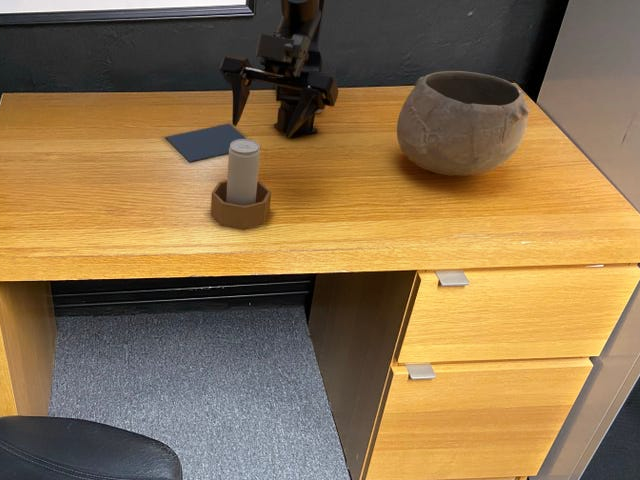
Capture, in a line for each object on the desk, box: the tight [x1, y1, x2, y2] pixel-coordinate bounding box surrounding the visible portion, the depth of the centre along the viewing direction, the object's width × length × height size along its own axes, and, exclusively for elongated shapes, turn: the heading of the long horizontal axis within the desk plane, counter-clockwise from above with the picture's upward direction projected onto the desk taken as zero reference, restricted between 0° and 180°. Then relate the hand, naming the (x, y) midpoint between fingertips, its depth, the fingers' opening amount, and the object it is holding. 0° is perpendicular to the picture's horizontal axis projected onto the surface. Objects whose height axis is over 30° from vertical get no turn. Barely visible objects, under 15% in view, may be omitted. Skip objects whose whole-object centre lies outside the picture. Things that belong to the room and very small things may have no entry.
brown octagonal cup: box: [210, 179, 272, 230], centre depth 113 cm, size 9×9×4 cm
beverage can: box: [226, 138, 261, 206], centre depth 111 cm, size 5×5×12 cm
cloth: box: [165, 123, 247, 163], centre depth 133 cm, size 14×11×1 cm
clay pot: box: [396, 70, 531, 176], centre depth 121 cm, size 21×21×15 cm
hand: (260, 131), depth 110 cm, fingers open, 9 cm apart
